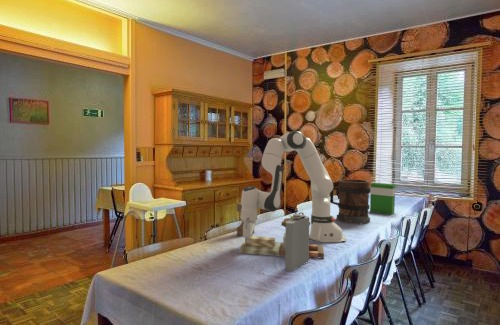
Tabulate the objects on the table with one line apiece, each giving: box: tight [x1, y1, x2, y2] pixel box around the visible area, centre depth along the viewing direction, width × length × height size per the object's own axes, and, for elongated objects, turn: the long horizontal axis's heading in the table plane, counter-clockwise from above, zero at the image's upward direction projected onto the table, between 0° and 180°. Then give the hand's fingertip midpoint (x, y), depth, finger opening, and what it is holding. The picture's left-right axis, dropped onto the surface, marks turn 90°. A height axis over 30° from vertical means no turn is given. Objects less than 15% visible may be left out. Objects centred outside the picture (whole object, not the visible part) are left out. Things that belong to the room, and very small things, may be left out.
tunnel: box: [282, 232, 286, 249], centre depth 177 cm, size 8×8×6 cm
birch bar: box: [244, 235, 276, 248], centre depth 180 cm, size 16×4×4 cm, turn 81°
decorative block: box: [236, 202, 255, 237], centre depth 210 cm, size 11×6×20 cm, turn 134°
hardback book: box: [369, 182, 396, 215], centre depth 276 cm, size 18×7×24 cm, turn 52°
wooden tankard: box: [329, 178, 371, 225], centre depth 249 cm, size 24×30×30 cm
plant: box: [281, 208, 311, 227], centre depth 237 cm, size 20×20×11 cm
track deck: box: [239, 240, 325, 258], centre depth 178 cm, size 44×14×2 cm, turn 81°
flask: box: [284, 213, 310, 272], centre depth 157 cm, size 17×5×25 cm, turn 140°
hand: (249, 241), depth 181 cm, fingers closed on birch bar, 4 cm apart
